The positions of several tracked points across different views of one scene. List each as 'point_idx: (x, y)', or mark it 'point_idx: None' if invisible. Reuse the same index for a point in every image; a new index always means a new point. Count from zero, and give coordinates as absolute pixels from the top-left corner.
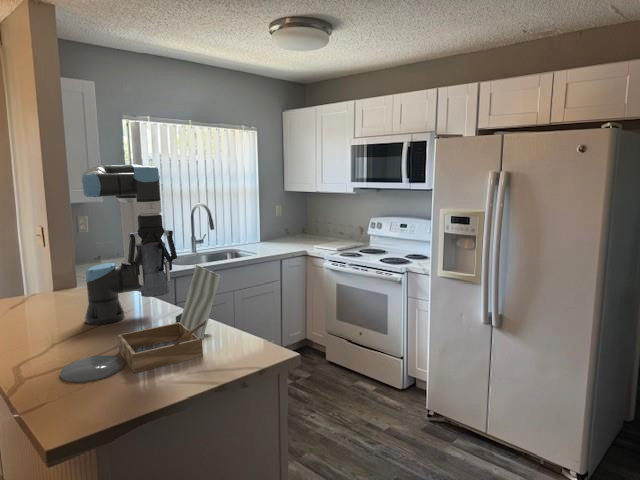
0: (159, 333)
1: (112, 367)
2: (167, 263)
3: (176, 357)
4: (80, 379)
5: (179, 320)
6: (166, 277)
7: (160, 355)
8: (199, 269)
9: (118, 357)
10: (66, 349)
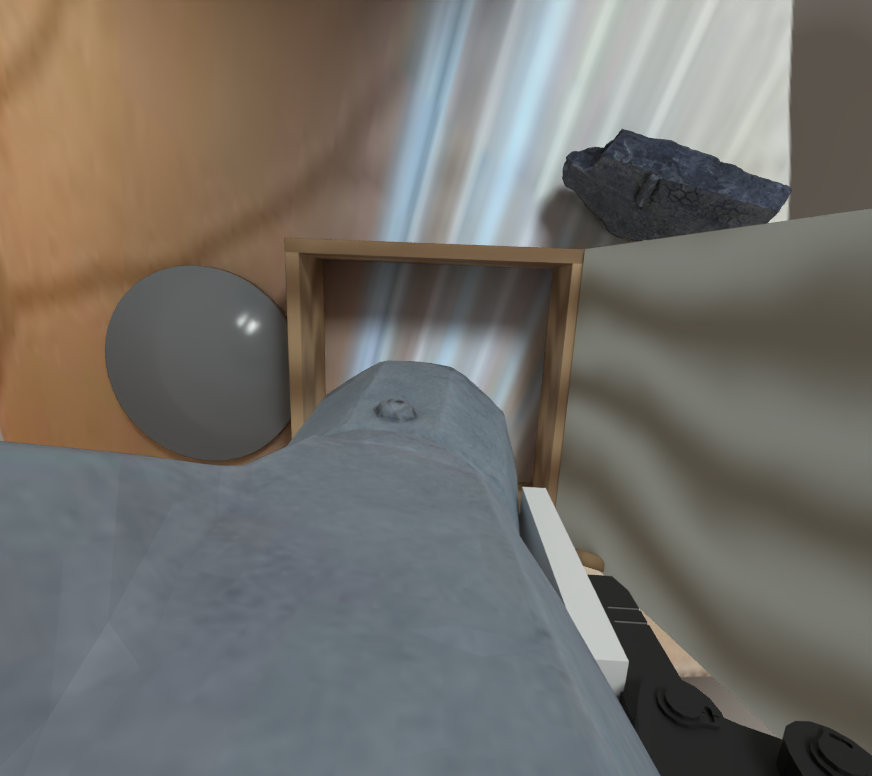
0: (471, 261)
1: (258, 419)
2: None
3: None
4: (163, 445)
5: (607, 180)
6: (524, 537)
7: None
8: None
9: None
10: (127, 64)
